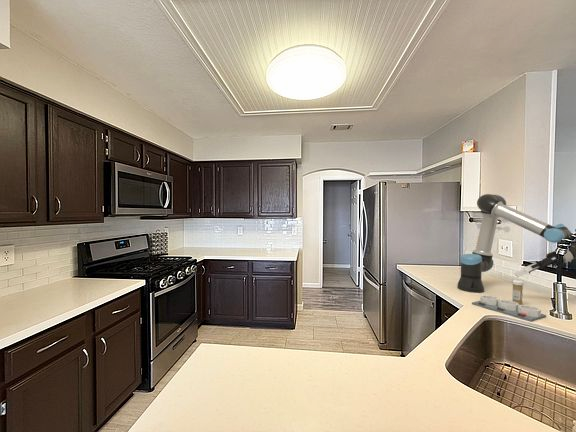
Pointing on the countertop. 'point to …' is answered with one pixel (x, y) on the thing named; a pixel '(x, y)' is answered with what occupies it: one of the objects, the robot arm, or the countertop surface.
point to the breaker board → (508, 312)
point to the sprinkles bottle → (517, 291)
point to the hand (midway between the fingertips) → (520, 272)
